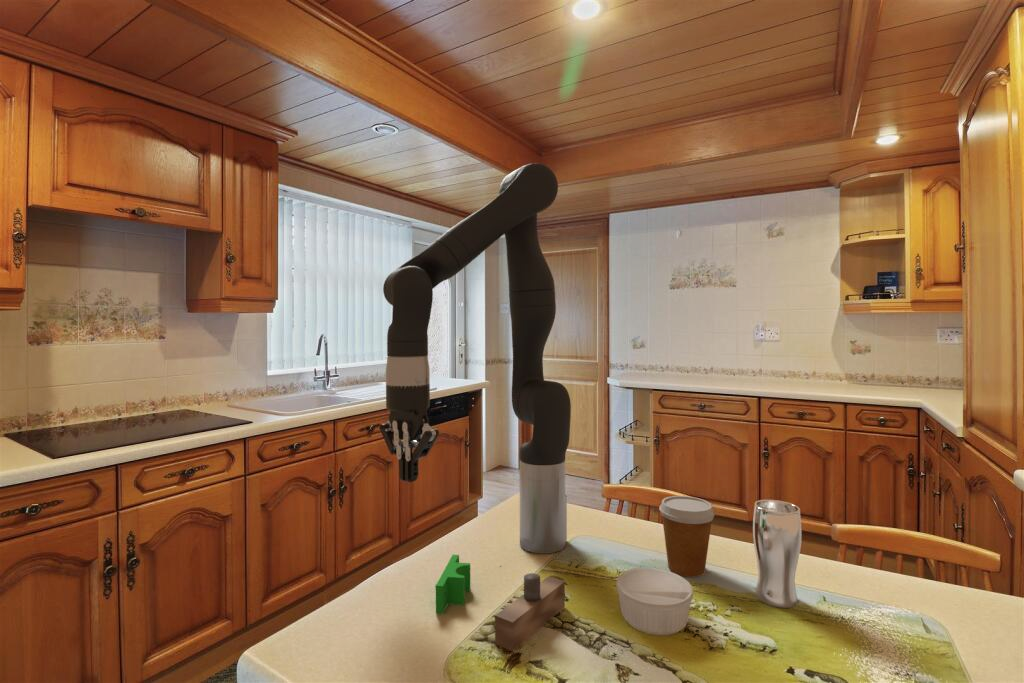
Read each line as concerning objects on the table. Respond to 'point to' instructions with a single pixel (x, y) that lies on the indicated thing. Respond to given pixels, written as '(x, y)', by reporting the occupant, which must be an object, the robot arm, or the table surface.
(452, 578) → the pipe clamp
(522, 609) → the bar
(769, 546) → the beer glass
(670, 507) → the disposable coffee cup
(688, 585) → the ramekin
